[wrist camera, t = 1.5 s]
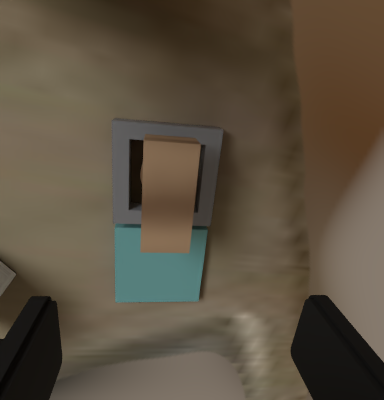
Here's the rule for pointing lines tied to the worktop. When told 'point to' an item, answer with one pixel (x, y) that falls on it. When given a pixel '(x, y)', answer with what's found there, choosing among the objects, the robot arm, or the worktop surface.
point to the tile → (157, 268)
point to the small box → (5, 277)
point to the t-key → (168, 192)
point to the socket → (137, 129)
